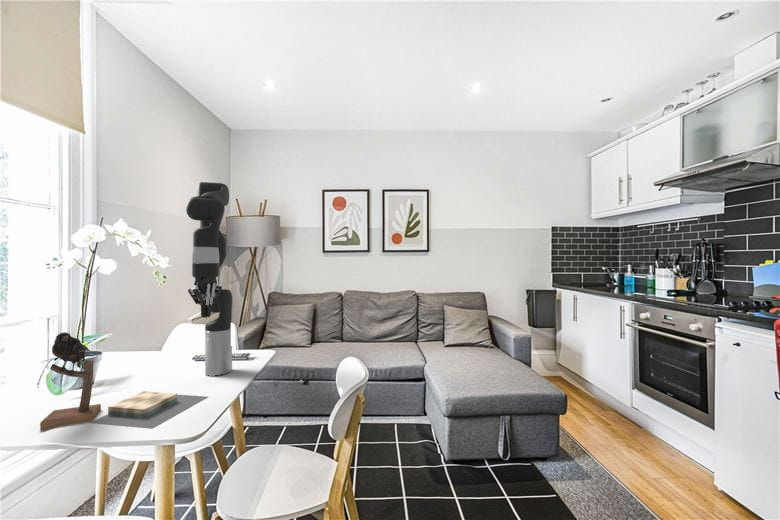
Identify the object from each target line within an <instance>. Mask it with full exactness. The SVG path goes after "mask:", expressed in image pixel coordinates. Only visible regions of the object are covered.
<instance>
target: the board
mask: <svg viewBox="0 0 780 520" xmlns="http://www.w3.org/2000/svg"><path fill="white" fill-rule="evenodd" d="M177 395H178V393H171V392H161V391H160V392H159V391H158V392H157V391H142V392H140V393H136V394H135V395H132V396H130V397H128V398H126V399H123V400H120V401H118V402H116V403H114V404H111V405H109V406H108V407H107V414H108V415H113V416H125V417H137V418H146V417H148V416H149V415H151V414H153V413H155V412H157V411H159V410H161V409H163V408H165V407H167V406H169V405H171V404H173V403H175V402H177Z"/></svg>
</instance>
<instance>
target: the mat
mask: <svg viewBox="0 0 780 520" xmlns="http://www.w3.org/2000/svg"><path fill="white" fill-rule="evenodd" d="M208 398H209V396H204V395H190V394H189V395H188V394H177V402H175V403H173V404H171V405H169V406H167V407H165V408H163V409H161V410H159V411H157V412H155V413H153V414H151V415H149V416H148V417H146V418H137V417H125V416H113V415H108V413H107V414H105V415H103V416H101V417H99V418H97V419H93V420H92V421H89V424H95V425H106V426H107V425H108V426H116V427H117V426H119V427H126V428H127V427H130V428H137V429H138V428H139V429H155V428H157V427H158V426H160V425H162V424H164V423H165V422H167V421H168V420H169V421H170V420H171V419H172V418H174V417H176V416H178V415H180V414H181V413H183V412H185V411H186V410H188V409H190V408H192V407H193V406H195V405H197V404H200V403H201V402H202V401H205V400H206V399H208Z"/></svg>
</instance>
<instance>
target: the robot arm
mask: <svg viewBox="0 0 780 520" xmlns="http://www.w3.org/2000/svg"><path fill="white" fill-rule="evenodd" d="M196 191H197V192H196V196H193V197H191V198H189V199H188V201H187V202H186V206H185V212H186V215H187V216H188V218H190V219H192V220H194V221H199V228H195V229H194V230H193V232H192V247H193V248H192V255H191V263H192V265H191V268H192V269H191V274H192V275H191V276H192V277H193V278H195V280H194V282H193V287H192V288H189V289H188V290H187V292H188V293H189V296H191V298H192V300H193V302H194V303H195V304H196V305H199V306H200V316H201V318H210V317H211V315H212V313H219V315H218V317H217V318H216V319H213V320H210V321H208V322H206V323H205V325H204V326H205V327H204V338H205V339H204V347H205V348H204V356H205V357H204V359H205V360H204V366H205V368H204V369H205V372H204V374H205V375H206V376H208V375H209V376H210V377H215V375H218V376H222V375H221V374H223V375H226V373H227V374H229V373H231V371H232V370H233V347H232V327H231V326H232V318H233V317H232V316H233V315H232V313H233V294H232V292H231V290H230V289H225V288H224V289H223V286H222V285H221V286H220V285H219V284H218V279H217V277H220V268H221V267H222V265H223V264H224V262H225V260H226V258H227V240H226V237H225V236H224V234H223V232H221V229H220V228H221V224H222V221H223V218H224V214H225V207H227V206H228V205H229V202H230V189H229V187H228V185H227V184H225V183H222V182H206V181H204V182H203V181H201V182H199V183H198V185H197V190H196ZM228 372H229V373H228ZM209 376H208V377H209Z"/></svg>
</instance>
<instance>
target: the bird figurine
mask: <svg viewBox="0 0 780 520" xmlns="http://www.w3.org/2000/svg"><path fill="white" fill-rule="evenodd" d="M51 352H52V354H53V355H54V356H55V357H56V358H58V359H60V360H61V361H63V365H62V366H59V365H57V364H55V363H52V365H51V366H50V367H49V370H51V371H53V372H54V373H57V374H59V375H65V376H66V377H73V378H81V379H82V389H81V397H80V402H79V406H77V407H75V406H74V407H68V408H61V409H60V408H59V409H55V410H53V411H52V412H51V413H49V414H48V415H47V416H46V417H44V419H42V420H41V421H40V423H39V425H40V426H39V429H40V431H43V430H42V429H44V430H49V429H48V428H50V429H56V428H58V427H60V426H66V425H67V426H68V425H74V424H80V423H87V422H92V421H94V420H95V417H96V416H97V415H98V414H99V413H100V412H101V410H102V408H101V407H102V406H101V405H102V404H101V403H96V404H91V405H90V402H91V399H92V390H93V380H94V378H93V377H94V374H93V373H94V360H92V359H91V360H86V355H85V354H86V353H89V352H91V350H90V349H89V347H87V346H86V345H85V344H83V343H82V342H81V340H80V339H79V338H76V337H73V336H71V334H70V333H69V332H60V333H58V334H57V335H55V340H54V342H53V345H52V347H51ZM67 362H70V363H72V368H71V369H67V367H65V365H66V363H67ZM75 364H76V366H77V368H79V369H81V366H82V369H83V371H80V370H74V369H75V368H74V367H75ZM55 427H56V428H55Z"/></svg>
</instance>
